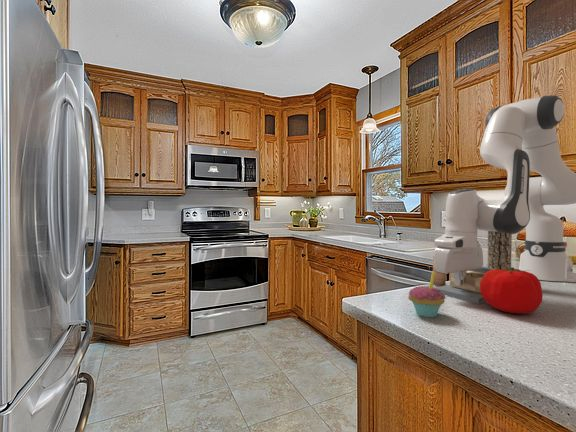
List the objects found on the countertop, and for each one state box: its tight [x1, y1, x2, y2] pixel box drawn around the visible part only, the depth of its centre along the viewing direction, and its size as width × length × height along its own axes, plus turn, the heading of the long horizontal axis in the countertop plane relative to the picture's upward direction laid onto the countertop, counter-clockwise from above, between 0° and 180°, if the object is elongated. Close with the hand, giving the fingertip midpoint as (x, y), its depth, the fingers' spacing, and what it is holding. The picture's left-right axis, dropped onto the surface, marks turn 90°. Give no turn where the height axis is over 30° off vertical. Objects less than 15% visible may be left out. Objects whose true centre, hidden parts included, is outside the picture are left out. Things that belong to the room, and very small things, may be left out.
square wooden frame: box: [449, 271, 485, 293], centre depth 98 cm, size 10×10×4 cm
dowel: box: [432, 255, 447, 287], centre depth 108 cm, size 4×4×10 cm
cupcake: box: [407, 269, 446, 318], centre depth 79 cm, size 9×8×12 cm
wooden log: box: [487, 231, 513, 269], centre depth 107 cm, size 7×7×25 cm
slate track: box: [434, 266, 494, 305], centre depth 97 cm, size 18×14×8 cm
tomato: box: [480, 266, 544, 314], centre depth 81 cm, size 12×13×12 cm
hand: (459, 285), depth 96 cm, fingers closed
